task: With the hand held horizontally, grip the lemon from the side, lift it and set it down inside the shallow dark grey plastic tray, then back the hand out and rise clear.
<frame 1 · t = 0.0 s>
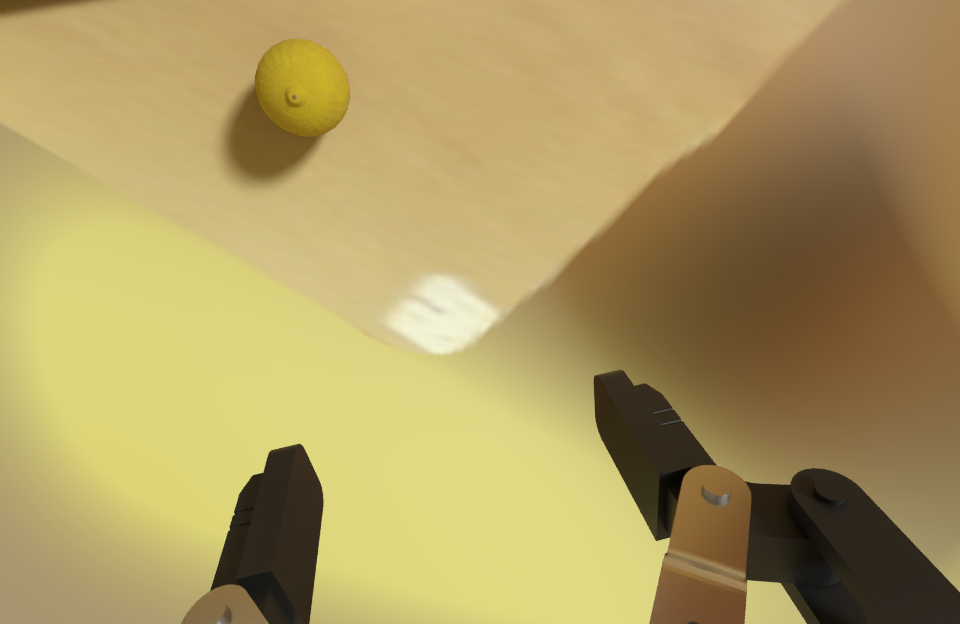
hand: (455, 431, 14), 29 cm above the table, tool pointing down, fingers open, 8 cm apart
lemon: (312, 82, 35), on the table
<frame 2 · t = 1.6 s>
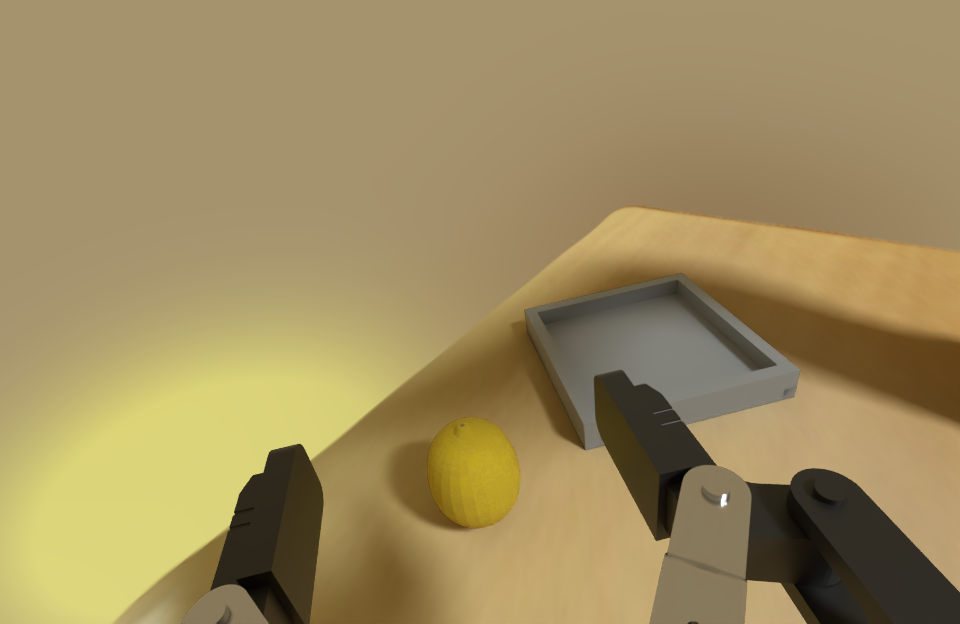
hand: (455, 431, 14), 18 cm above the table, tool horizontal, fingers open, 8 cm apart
tray: (641, 359, 43), on the table
lemon: (484, 516, 32), on the table
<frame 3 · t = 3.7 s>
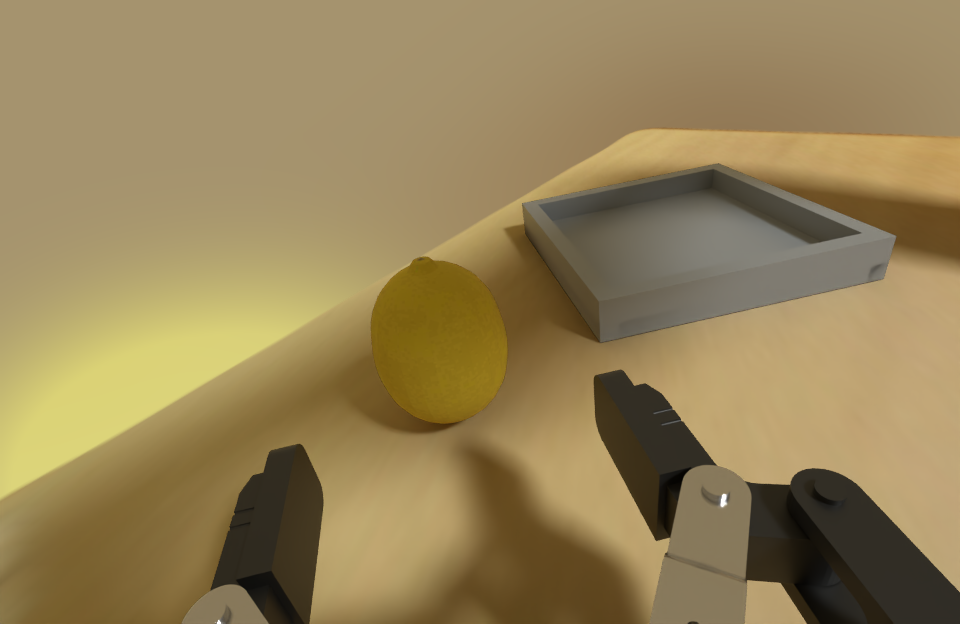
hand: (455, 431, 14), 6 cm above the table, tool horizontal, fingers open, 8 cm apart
tray: (670, 251, 33), on the table
lemon: (457, 419, 23), on the table
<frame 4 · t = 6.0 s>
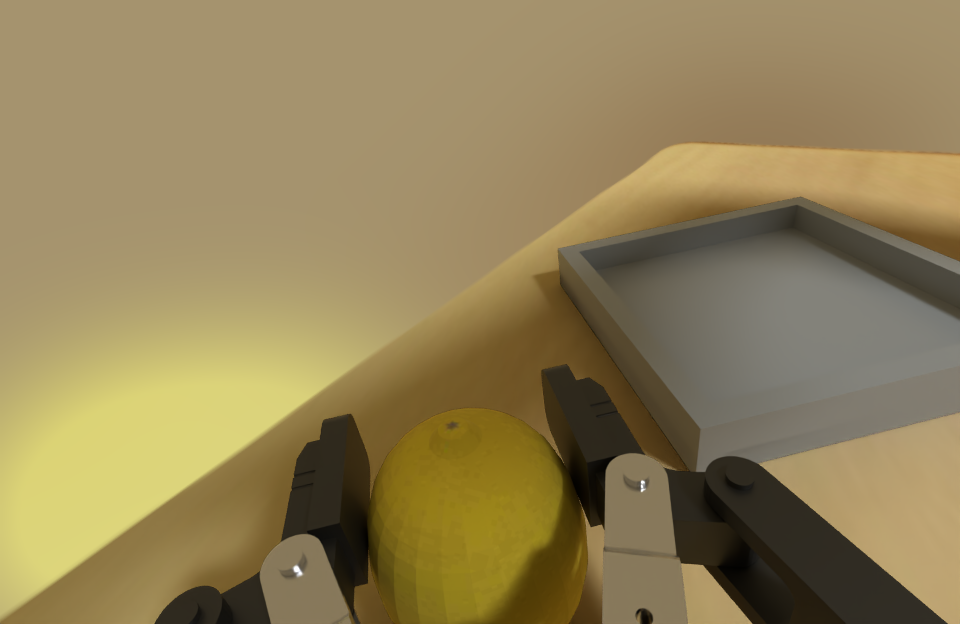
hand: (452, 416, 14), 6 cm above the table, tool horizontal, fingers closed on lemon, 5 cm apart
tray: (758, 320, 26), on the table
lemon: (499, 622, 15), on the table, touching gripper
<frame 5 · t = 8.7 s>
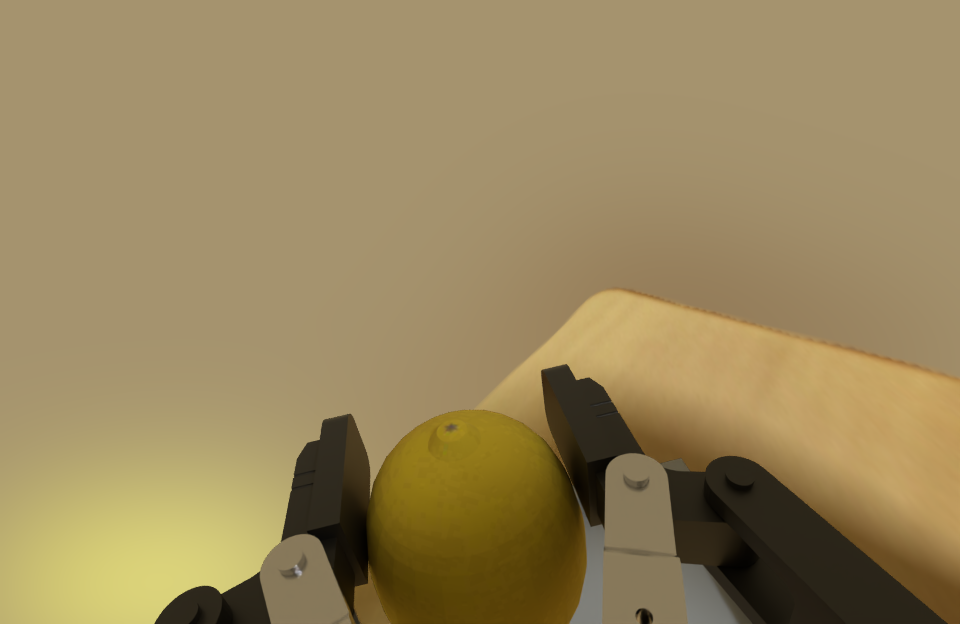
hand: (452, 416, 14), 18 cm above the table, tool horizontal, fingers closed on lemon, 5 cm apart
when the fingers open (8 cm above the table, at t = 11.4 s): lemon drops 1 cm, resting on tray.
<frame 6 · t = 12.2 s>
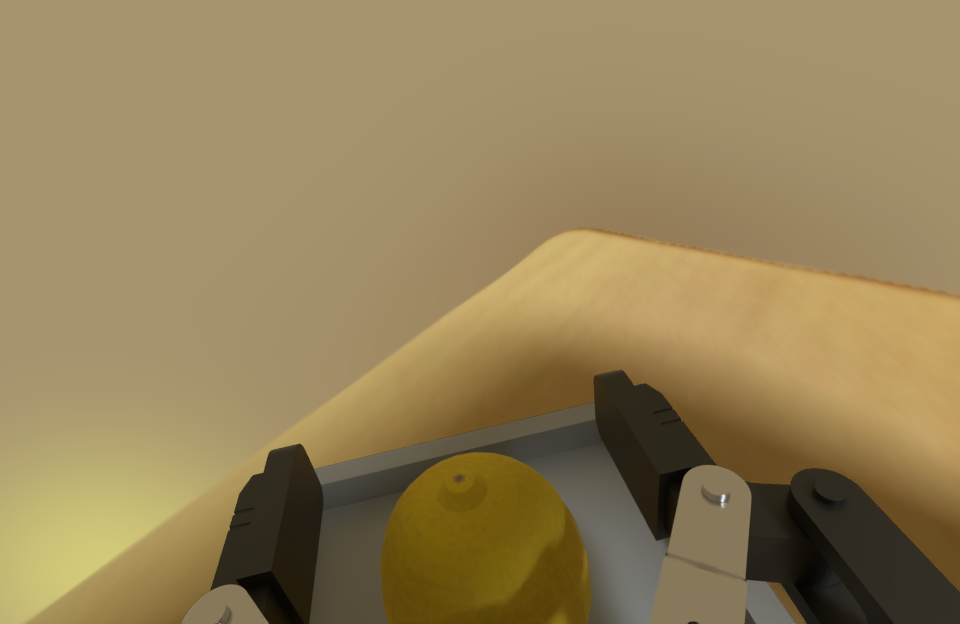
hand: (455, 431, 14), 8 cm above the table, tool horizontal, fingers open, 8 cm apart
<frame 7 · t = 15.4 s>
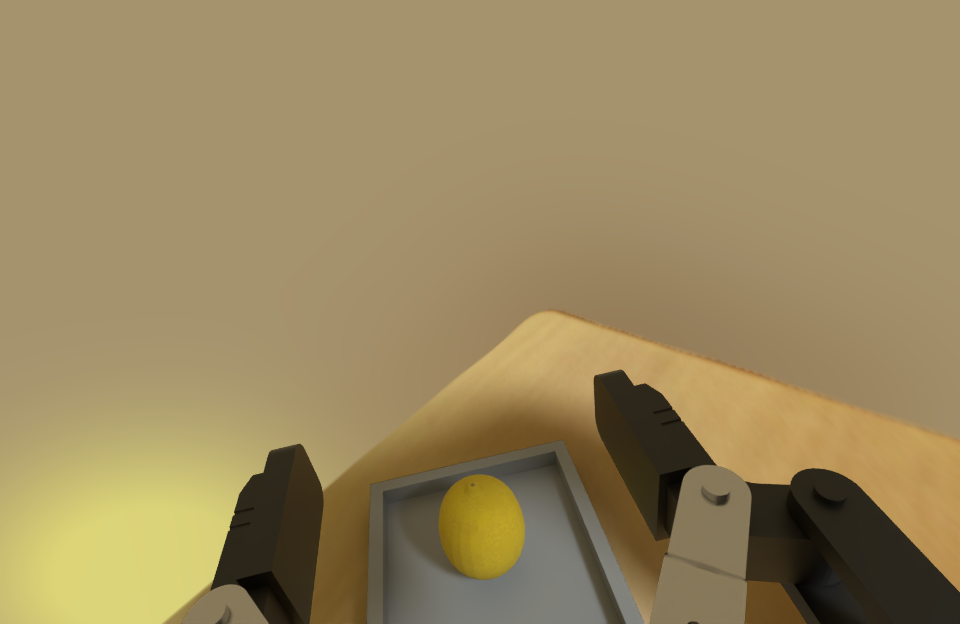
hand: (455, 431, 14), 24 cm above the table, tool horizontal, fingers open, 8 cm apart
tray: (490, 571, 35), on the table
lemon: (490, 565, 34), point 1 cm above the table, touching tray
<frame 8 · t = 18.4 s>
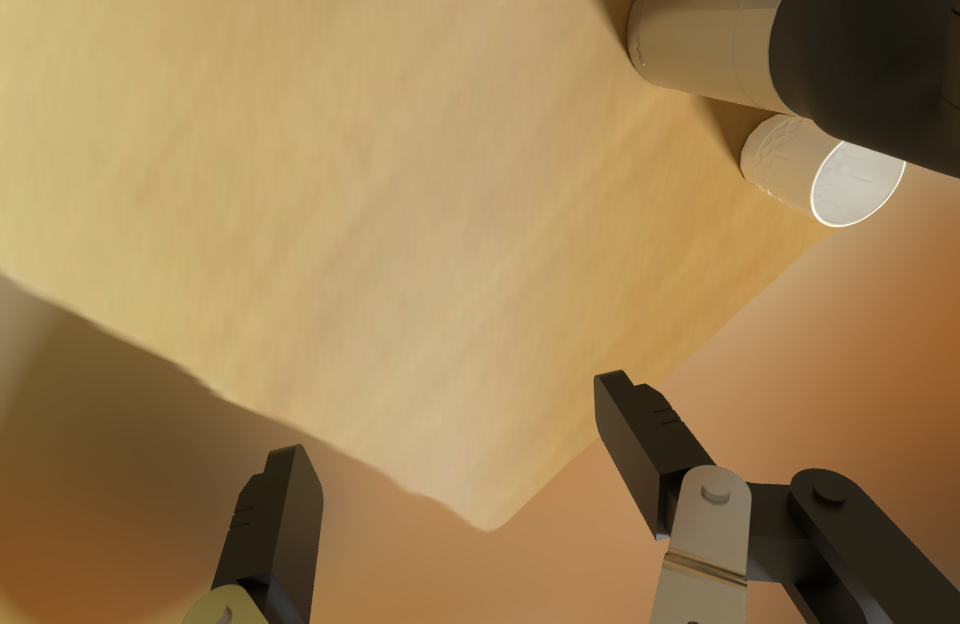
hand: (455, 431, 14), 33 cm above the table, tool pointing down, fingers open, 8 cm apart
white cup: (771, 150, 48), on the table
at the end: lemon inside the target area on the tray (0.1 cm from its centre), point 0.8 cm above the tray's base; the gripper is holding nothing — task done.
